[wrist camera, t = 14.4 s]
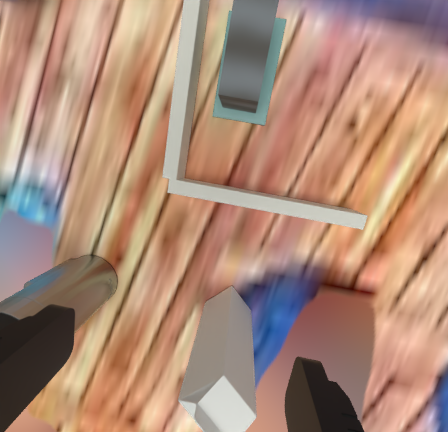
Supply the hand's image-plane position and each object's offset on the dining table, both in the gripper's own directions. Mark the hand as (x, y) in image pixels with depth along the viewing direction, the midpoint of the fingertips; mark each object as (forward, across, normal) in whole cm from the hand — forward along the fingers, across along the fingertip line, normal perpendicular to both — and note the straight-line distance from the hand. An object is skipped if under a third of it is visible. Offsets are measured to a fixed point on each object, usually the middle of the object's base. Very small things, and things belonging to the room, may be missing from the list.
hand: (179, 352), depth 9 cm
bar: (+32, +1, -20) cm, 38 cm away
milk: (+32, -3, +18) cm, 37 cm away
